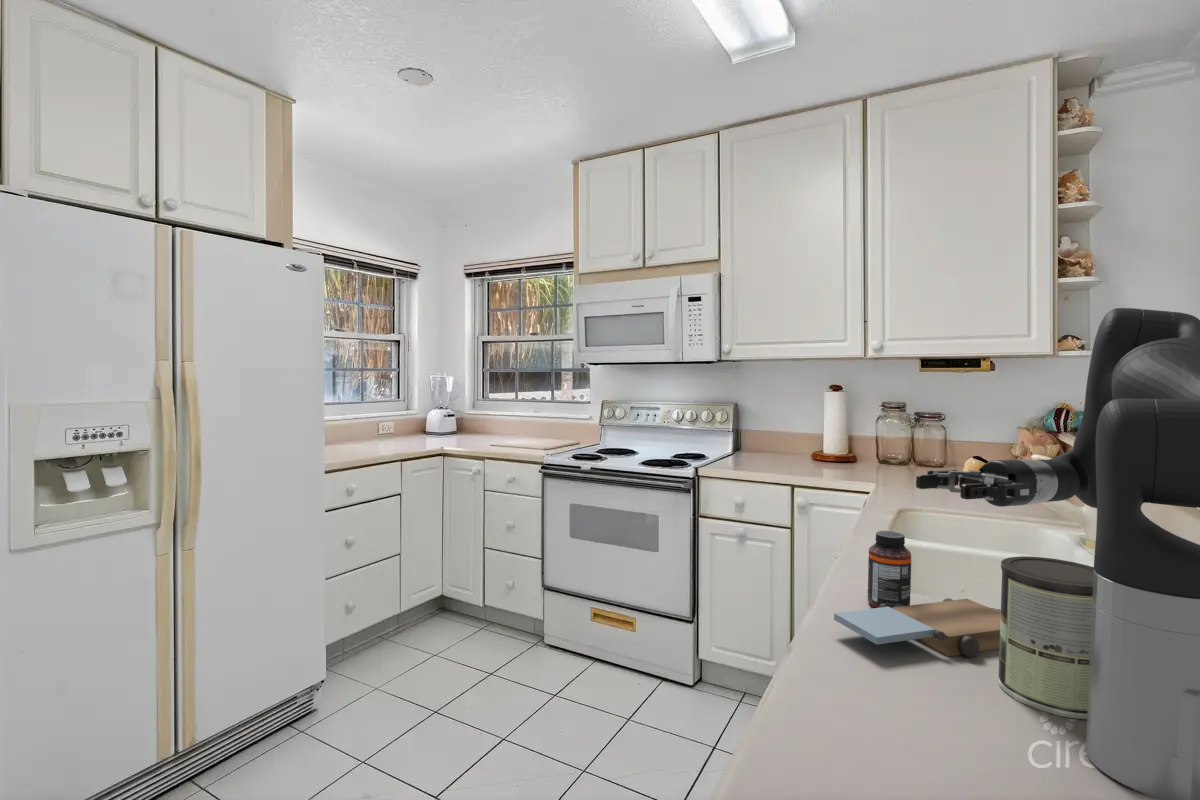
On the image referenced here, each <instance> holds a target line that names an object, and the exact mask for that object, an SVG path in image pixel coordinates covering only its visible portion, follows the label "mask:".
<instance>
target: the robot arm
mask: <svg viewBox="0 0 1200 800" xmlns="http://www.w3.org/2000/svg"><path fill="white" fill-rule="evenodd" d="M1086 379H1087V380H1086V385H1085V386H1086V387H1085V395H1084V397H1085V398H1084V406H1083V411H1082V412H1083V413H1082V416H1081V421H1080V423H1079V426H1078V430H1077V433H1076V435H1075V439H1074V442H1073V448H1072V449H1070V450H1068V451H1066V452H1064V453H1062V454H1059V455H1056V456H1055V457H1051V458H1049V459H1028V458H1027V459H1026V458H1021V459H1018V458H1017V459H998V460H997V459H995V460H989V461H987V462H986V463H984V464H983V465H982V466H981V467H980V468H979V469H978V470H973V469H971V470H968V471H966V470H965V471H963V470H957V469H949V470H948V469H947V470H942V469H941V470H931V469H930V470H927V473H926V474H917V476H916V478H915V487H916V488H917V489H920V490H925V489H927V490H928V489H935V490H938V489H941V490H942V489H945V490H948V491H949V492H951V493H959V494H960V498H961V500H962V499H963V500H976V499H977V500H979V499H980V500H981V499H983V500H985V501H986V502H987V503H988V504H989V505H992V506H995V507H999V508H1003V507H1004V508H1005V507H1016V506H1030V505H1031V506H1032V505H1037V504H1040V503H1049V502H1051V503H1052V502H1059V501H1060V502H1061V501H1065V500H1066V501H1067V500H1069V499H1071V498H1073V497H1074V496H1075V497H1076V498H1077V499H1079V500H1080V502H1082V503H1083V504H1084V505H1086V506H1088V507H1090V508H1095V509H1096V527H1095V528H1096V530H1095V545H1094V546H1095V547H1094V556H1093V558H1094V559H1093V567H1094V573H1093V596H1092V617H1091V640H1090V663H1089V685H1088V708H1087V711H1088V713H1087V720H1086V727H1085V728H1086V729H1085V730H1086V740H1085V752H1086V755H1087V757H1088V759H1089V761H1091V763H1092V764H1093V765H1094V766H1095V767H1097V769H1099V770H1100V771H1101V772H1103V773H1104V774H1105V775H1107V776H1109V778H1112V779H1113V780H1116V781H1117V782H1119V783H1120V784H1122V785H1124V786H1126V787H1128V788H1131V789H1132V790H1135V791H1137V792H1140V793H1142V794H1145V795H1147V796H1150V797H1152V798H1155V799H1159V800H1200V544H1199V543H1196V542H1193V541H1190V540H1189V539H1186V538H1184V537H1181V536H1178V535H1176V534H1175V533H1173V532H1171V531H1169V530H1166V529H1165V528H1163V527H1162V526H1160V525H1158V524H1157V523H1155V522H1153V521H1152V519H1151V520H1150V519H1149V518H1148V517H1147V516H1146V515H1145V514H1144V512H1143V510H1142V506H1143V504H1145V503H1146V504H1147V503H1148V504H1149V503H1150V504H1152V505H1153V504H1156V505H1165V506H1175V507H1184V508H1194V509H1197V508H1199V509H1200V319H1199V318H1198V317H1197V316H1195V315H1192V314H1189V313H1185V312H1180V311H1179V312H1178V311H1171V310H1170V311H1168V310H1157V309H1156V310H1155V309H1146V308H1145V309H1143V308H1132V307H1130V308H1129V307H1128V308H1127V307H1117V308H1116V307H1115V308H1113V309H1111V310H1109V311H1108V312H1107V313H1106V314H1105V315H1104V317H1103V318H1102V320H1101V321H1100V324H1099V326H1098V329H1097V332H1096V335H1095V338H1094V342H1093V346H1092V351H1091V356H1090V362H1089V368H1088V375H1087V378H1086ZM956 486H958V487H957V488H956Z"/></svg>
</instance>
